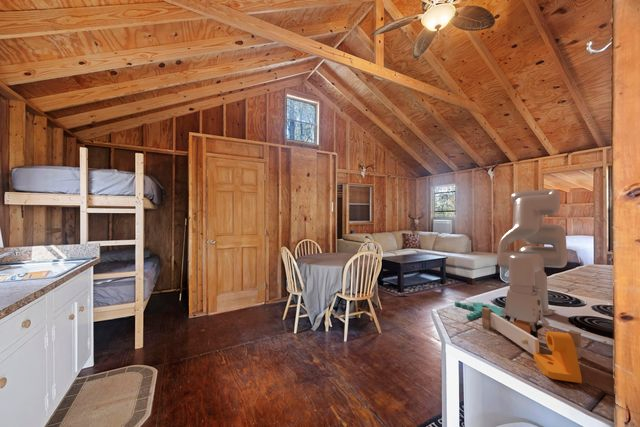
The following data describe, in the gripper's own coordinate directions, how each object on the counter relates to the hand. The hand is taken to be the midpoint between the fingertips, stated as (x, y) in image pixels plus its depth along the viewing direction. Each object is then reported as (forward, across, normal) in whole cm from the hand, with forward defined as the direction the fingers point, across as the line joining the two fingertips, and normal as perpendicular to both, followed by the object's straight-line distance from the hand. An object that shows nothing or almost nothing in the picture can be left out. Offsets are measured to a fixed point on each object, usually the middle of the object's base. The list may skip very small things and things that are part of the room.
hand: (524, 337), depth 95 cm
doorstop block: (+1, 0, 0) cm, 1 cm away
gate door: (+1, +3, +4) cm, 5 cm away
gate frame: (+2, +1, -3) cm, 4 cm away
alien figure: (+3, +23, -19) cm, 31 cm away
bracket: (+2, -12, +13) cm, 18 cm away
